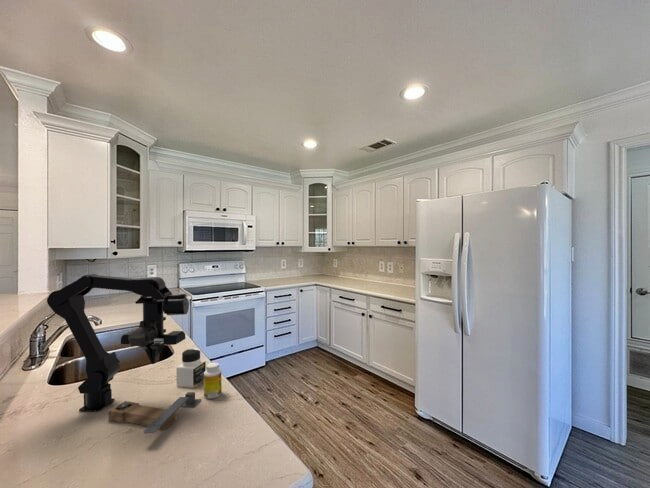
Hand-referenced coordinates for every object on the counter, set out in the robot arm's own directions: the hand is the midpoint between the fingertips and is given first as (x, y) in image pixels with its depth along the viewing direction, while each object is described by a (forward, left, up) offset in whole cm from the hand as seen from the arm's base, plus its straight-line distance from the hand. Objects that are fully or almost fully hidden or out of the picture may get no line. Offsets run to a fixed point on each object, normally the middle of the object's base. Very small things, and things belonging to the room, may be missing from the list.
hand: (153, 363), depth 92 cm
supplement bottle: (+18, +4, -12) cm, 22 cm away
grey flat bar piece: (+13, -10, -12) cm, 20 cm away
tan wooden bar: (+4, -10, -12) cm, 16 cm away
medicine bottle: (+6, +12, -12) cm, 18 cm away
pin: (-3, -9, -12) cm, 15 cm away
